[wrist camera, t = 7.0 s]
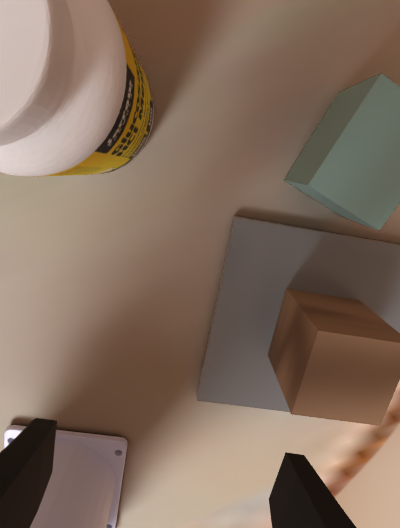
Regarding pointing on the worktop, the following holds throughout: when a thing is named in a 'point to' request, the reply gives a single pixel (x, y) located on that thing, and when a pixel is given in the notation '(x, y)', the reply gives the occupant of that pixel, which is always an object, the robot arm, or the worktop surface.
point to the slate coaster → (271, 296)
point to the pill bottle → (69, 90)
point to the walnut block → (334, 358)
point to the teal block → (355, 154)
